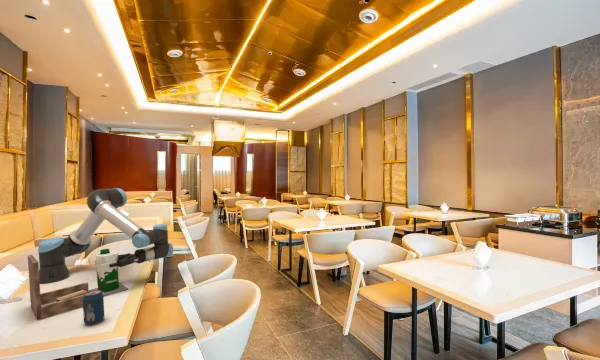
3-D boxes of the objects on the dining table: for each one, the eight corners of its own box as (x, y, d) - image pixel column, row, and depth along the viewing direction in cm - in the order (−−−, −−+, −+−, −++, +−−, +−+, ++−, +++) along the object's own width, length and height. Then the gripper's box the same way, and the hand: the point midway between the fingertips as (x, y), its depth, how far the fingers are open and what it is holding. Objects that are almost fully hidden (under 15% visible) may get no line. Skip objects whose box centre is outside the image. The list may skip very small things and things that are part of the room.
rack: (87, 291, 155) (85, 245, 154) (98, 302, 141) (96, 251, 141) (30, 307, 139) (27, 255, 138) (37, 320, 125) (33, 263, 125)
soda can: (102, 316, 127) (100, 287, 127) (106, 321, 123) (105, 292, 122) (82, 322, 122) (80, 293, 122) (86, 328, 118) (84, 297, 117)
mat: (119, 283, 166) (119, 282, 166) (128, 289, 156) (128, 288, 156) (88, 291, 155) (88, 290, 155) (96, 298, 146) (96, 297, 146)
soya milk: (113, 284, 162) (111, 247, 162) (122, 287, 157) (120, 248, 157) (95, 290, 155) (93, 251, 155) (103, 292, 150) (101, 252, 150)
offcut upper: (56, 303, 137) (55, 298, 137) (82, 294, 147) (82, 289, 147) (60, 305, 135) (60, 300, 135) (87, 296, 145) (87, 291, 145)
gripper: (152, 265, 161) (105, 277, 145) (136, 258, 177) (92, 268, 160) (152, 251, 161) (104, 261, 144) (135, 245, 176) (91, 254, 160)
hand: (98, 265), depth 152 cm, fingers open, 11 cm apart
